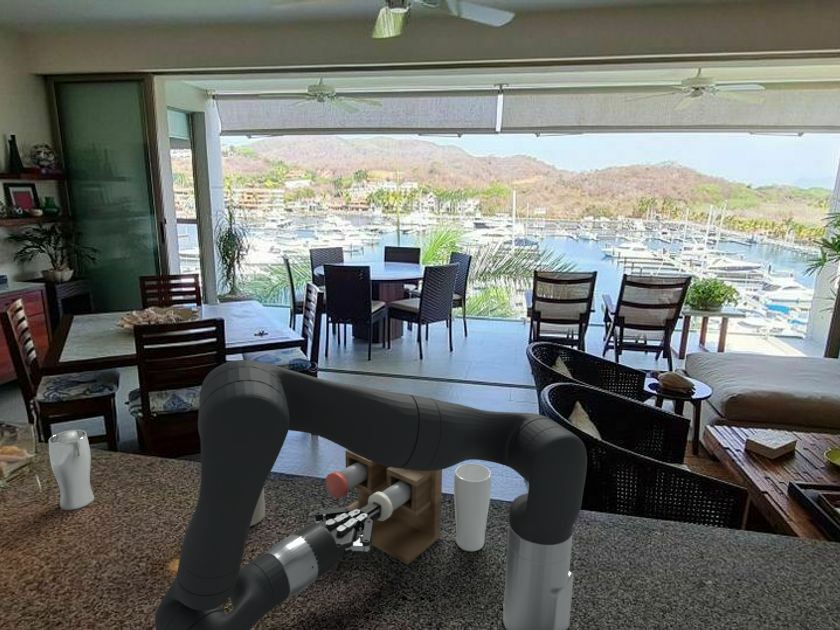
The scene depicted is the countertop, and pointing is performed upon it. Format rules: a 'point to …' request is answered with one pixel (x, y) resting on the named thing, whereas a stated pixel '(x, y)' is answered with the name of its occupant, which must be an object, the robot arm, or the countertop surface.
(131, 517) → the countertop surface
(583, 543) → the countertop surface
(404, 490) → the ivory button
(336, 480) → the red button
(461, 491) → the drinking glass
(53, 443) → the beer glass
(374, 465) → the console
